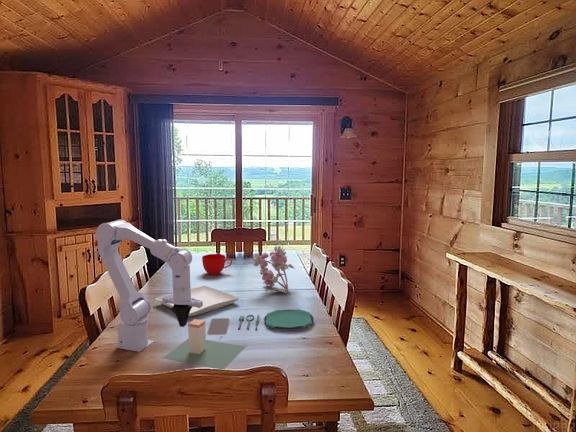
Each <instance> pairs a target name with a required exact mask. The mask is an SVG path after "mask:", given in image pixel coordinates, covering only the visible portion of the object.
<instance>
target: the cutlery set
mask: <svg viewBox="0 0 576 432" xmlns="http://www.w3.org/2000/svg"><path fill="white" fill-rule="evenodd" d="M250 317H251V318H252V319H248V318H250ZM314 318H315V317H314V316H313V315H312V314H311V313H310V312H309V311H306V310H303V309H299V308H298V309H289V308H287V309H276V310H273V311H270V312H268V313H266V315H265V316H264V317H263V321H264V323H265V324H266V328H267V329H268V330H271V331H272V330H273V328H275V329H280V330H296V329H297V330H298V329H301V328H305V329H307V328H308V327H310V326H312V323H313V322H314ZM245 319H246V321H248V323H247V326H246V330H250V324H251V323H250V322H251V321H253V320H255V316H254V315H253V314H248V315H246V317H245V315H240V317H239V318H238V321H239V323H238V328H237V330H241V326H242V323H243V321H245ZM259 321H260V315H259V314H257V317H256V320H255V330H254V331H258V325H259V324H260V323H259Z"/></svg>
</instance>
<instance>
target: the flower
mask: <svg viewBox="0 0 576 432" xmlns="http://www.w3.org/2000/svg"><path fill="white" fill-rule="evenodd" d="M283 247H284V246H283V245H282V246H281V245H278V246H275V247H274V249H273V250H274V251H273V250H272V251H270V252H269V254H268V253H267V252H262V254H261V255H260V254H259V253H257V252H256V253H254V254H253V256H252V259H251V258H249V260H252V262H251V264H252V265H253V266H254V267H258V266H260V271H259V274H260V275H261V279H262V284H263V285H266V287H268V286H269V287H274V286H275V284H276V283H278V285H279V286H281V287H282V288H283V289H282V288H279V287H278V288H273V289H271V290H270V291H269V293H271V292H279V291H280V293H288V294H290V295H291V291H290V290H289V287H288V285H289V284H288V277H287V273H286V270H287V271H289V270H290V269H289V268H291V269H294V270H296V268H295V266H294V265H292V264H291V263H289V264H288V263H287V262H288V259H287V258H288V256H287V255H286V254H287V251H285V250H286V248H284V249H283ZM269 256H270V259H269V260H267V259H268V258H269ZM265 259H266V260H265ZM269 264H270V265H271V266H272V267H273V268H274V271H276V272H277V273H276V275H275V274H274V272H273V271H272V270H271V269H269V268H268V267H267V266H269ZM280 270H281V271H282V272H283V273H281V271H280ZM283 275H284V277H283ZM279 277H280V279H281V280H282V283H283V284H282V283H281V282H280V281H278V280H279ZM284 279H285V280H284Z"/></svg>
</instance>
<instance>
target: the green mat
mask: <svg viewBox="0 0 576 432" xmlns="http://www.w3.org/2000/svg"><path fill="white" fill-rule="evenodd" d="M245 348H246V346H244V345H241V344H239V345H238V344H233V343H226V342H220V341H215V340H210V339H206V349H205V350H204V351H203V352H202V353H200V354H196V353H190V352H189V338H187V339H186V340H184V341H183V342H182V343H180V344H179V345H178V346H176V347H175V348H174V349H173V350H171V351H170V352H168V353H167V354H165V355H164V356H163V357H162V359H167V360H172V361H176V362H182V363H188V364H192V365H198V366H203V367H208V368H213V369H219V370H223V369H224V370H225V369H226V368H227V367H228V366H229V364H231V363H232V361H234V359H235V358H236V357H238V355H239V354H240V353H241V352H242V351H243V350H245Z"/></svg>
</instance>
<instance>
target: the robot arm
mask: <svg viewBox="0 0 576 432" xmlns="http://www.w3.org/2000/svg"><path fill="white" fill-rule="evenodd" d="M94 236H95V238H96V241H97V252H98V254H99V256H100V258H101V260H102V263H103V264H104V266H105V268H106V271H107V273H108V275H109V277H110V279H111V282H112V283H113V285H114V287H115V291H116V292H117V293H118V296H119V303H118V306H117V307H118V310H119V315H120V316H119V317H120V319H121V321H120V322H119V323H118V327H117V341H118V342H117V343H118V345H117V346H116V348H117V349H121V350H127V351H132V352H141V351H143V350H144V349H146V348H147V347H149V346H150V345H151V344H153V343H154V342H155V341H154V340H152V339H149V330H148V329H149V328H148V325H149V324H148V314H149V313H150V311H151V308H152V306H151V304H150V302H149V301H148V299H147V298H145V295H144V294H143V293H142V292H140V291H138V290H137V289H136V287H135V285H134V283H133V281H132V279H131V276H130V274H129V272H128V270H127V268H126V265H125V264H124V262H123V259H122V257H121V255H120V254H119V253H120V252H119V251H118V249H119V246H120V245H121V242H122V241H123V240H130V241H132V242H134V243H136V244H138V245H140V246H141V247H142V246H143V247H145V248H146V249H149V251H150V254H151V255H152V256H154V257H156V258H158V259H160V260H161V261H164V262H166V263H167V264H168V266H169V267H170V269H171V273H172V274H171V275H172V276H171V277H172V280H171V281H172V293H173V296H165V295H164V296H165V297H163V298H162V303H170V304H174V306H173V307H172V308H171V310H172V311H173V313H174V315H175V316H176V319H177V322H178V325H179V327H183V328H184V327H185V326H186V325H187V322H188V317H189V316H188V315H189V313H190V310H191V308H192V306H193V307H197V308H201V307H202V306H203V301H201V300H197V299H194V298H191V289H192V287H191V266H190V265H191V264H192V262H193V255H192V253H191V251H189V250H188V249H187V248H182V249H180V247H178V246H174V245H173V244H171V243H169V242H168V240H167V239H165V238H164V239H162V238H159V239H154V238H152V237H151V236H149V235H147V234H146V233H144V232H142V231H141V230H139V229H137V228H136V227H135V226H133V225H132V223H131V222H129V221H125V220H124V219H116V220H114V221H110V222H109V221H108V222H103V223H101V224H99V225H98V227H97V228H96V230H95V232H94Z"/></svg>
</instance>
